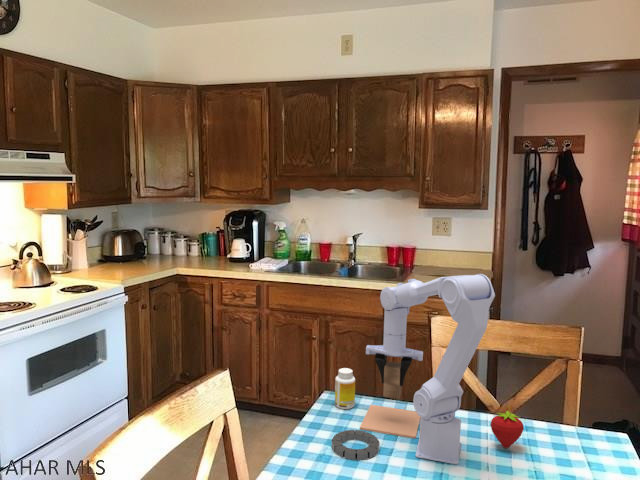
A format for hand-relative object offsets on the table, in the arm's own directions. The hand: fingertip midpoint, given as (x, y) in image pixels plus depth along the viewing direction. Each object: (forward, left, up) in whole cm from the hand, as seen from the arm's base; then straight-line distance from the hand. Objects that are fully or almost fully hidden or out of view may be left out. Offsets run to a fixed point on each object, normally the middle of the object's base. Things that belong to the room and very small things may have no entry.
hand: (392, 383), depth 133 cm
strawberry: (-28, +4, -11) cm, 30 cm away
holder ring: (+6, +16, -10) cm, 20 cm away
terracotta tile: (0, 0, -10) cm, 10 cm away
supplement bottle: (+14, -5, -11) cm, 18 cm away
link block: (0, 0, -3) cm, 3 cm away
